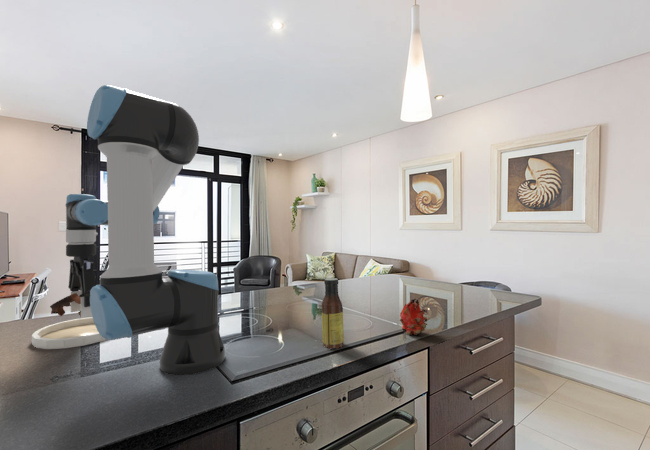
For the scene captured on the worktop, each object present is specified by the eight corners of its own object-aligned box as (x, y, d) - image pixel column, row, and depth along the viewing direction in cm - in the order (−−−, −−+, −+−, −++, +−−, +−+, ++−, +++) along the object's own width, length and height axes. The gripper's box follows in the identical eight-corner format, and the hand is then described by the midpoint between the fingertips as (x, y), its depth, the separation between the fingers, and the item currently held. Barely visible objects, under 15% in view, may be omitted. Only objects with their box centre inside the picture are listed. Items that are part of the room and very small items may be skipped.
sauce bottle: (346, 345, 93) (347, 278, 93) (338, 353, 87) (339, 281, 87) (326, 341, 95) (327, 276, 95) (317, 348, 90) (318, 279, 90)
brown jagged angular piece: (75, 322, 93) (59, 299, 92) (54, 334, 95) (38, 311, 94) (108, 303, 104) (94, 283, 103) (89, 314, 106) (75, 294, 105)
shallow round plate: (134, 333, 101) (134, 325, 101) (43, 356, 84) (43, 346, 84) (108, 319, 115) (108, 312, 115) (25, 337, 97) (25, 328, 97)
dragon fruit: (408, 342, 95) (409, 303, 95) (394, 333, 103) (394, 296, 103) (432, 339, 98) (432, 300, 98) (416, 330, 106) (416, 294, 106)
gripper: (108, 244, 95) (107, 317, 95) (84, 241, 109) (84, 305, 109) (77, 245, 89) (77, 324, 90) (56, 242, 103) (56, 310, 103)
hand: (81, 314), depth 99 cm, fingers closed on brown jagged angular piece, 9 cm apart
